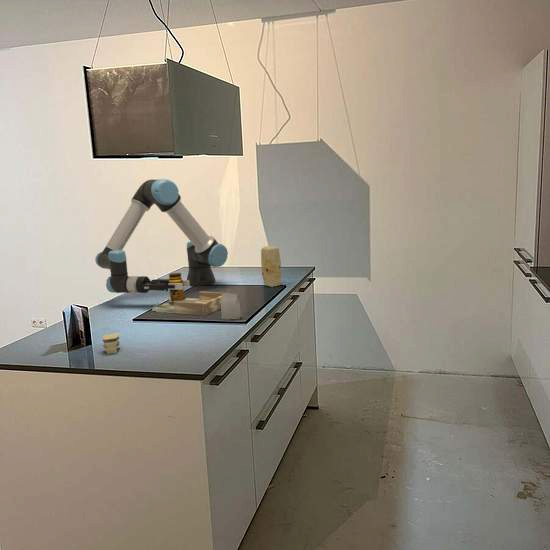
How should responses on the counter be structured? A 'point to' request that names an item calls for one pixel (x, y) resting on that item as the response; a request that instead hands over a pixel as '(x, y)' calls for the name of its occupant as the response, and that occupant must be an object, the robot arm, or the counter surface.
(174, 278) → the condiment
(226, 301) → the tea bag
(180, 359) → the counter surface
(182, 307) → the open-front wooden tray
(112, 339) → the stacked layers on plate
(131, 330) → the counter surface
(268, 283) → the food model
